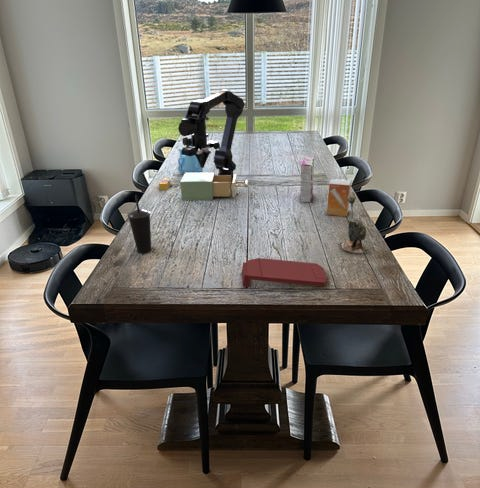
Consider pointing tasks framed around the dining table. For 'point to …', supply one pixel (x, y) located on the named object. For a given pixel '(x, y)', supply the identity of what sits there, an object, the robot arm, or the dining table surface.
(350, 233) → the plant with pod
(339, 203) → the small box
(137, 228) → the drinking cup
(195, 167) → the teapot
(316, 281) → the red flat block
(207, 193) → the cabinet
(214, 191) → the drawer
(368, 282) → the dining table surface
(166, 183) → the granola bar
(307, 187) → the candy bar box
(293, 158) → the dining table surface
